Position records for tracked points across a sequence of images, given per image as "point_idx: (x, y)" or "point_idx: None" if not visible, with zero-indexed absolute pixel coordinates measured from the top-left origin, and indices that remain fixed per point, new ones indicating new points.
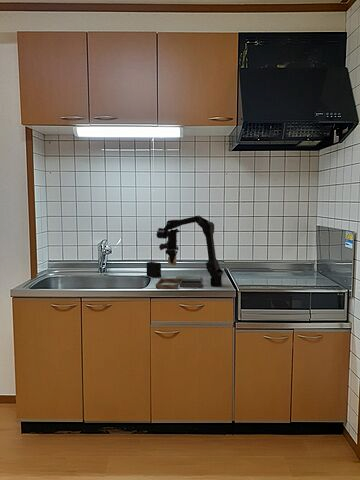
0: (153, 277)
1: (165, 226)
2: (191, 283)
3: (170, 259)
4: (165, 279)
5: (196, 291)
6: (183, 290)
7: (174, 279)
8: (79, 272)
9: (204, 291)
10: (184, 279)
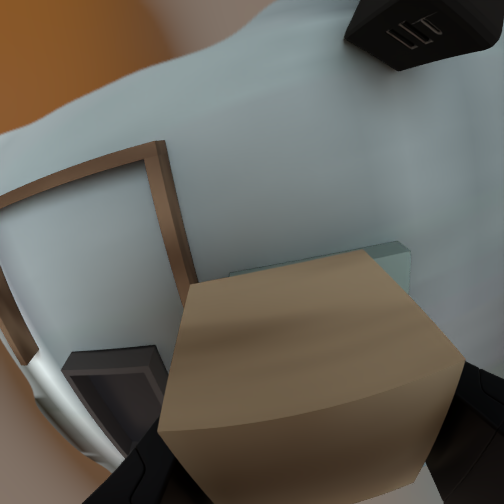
0: (358, 6)
1: None
2: (100, 426)
3: (150, 441)
4: (156, 199)
5: (57, 426)
6: (32, 378)
7: (181, 294)
8: None
9: (79, 448)
10: None
